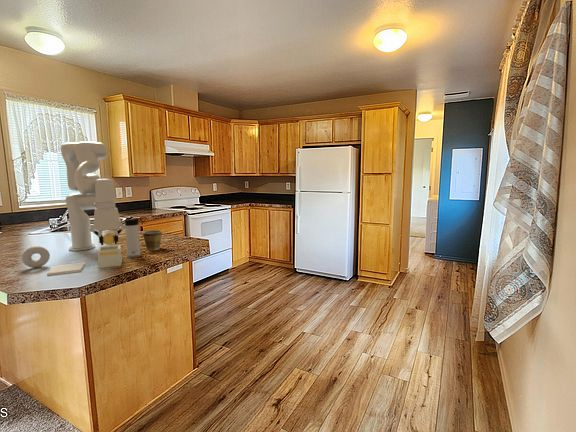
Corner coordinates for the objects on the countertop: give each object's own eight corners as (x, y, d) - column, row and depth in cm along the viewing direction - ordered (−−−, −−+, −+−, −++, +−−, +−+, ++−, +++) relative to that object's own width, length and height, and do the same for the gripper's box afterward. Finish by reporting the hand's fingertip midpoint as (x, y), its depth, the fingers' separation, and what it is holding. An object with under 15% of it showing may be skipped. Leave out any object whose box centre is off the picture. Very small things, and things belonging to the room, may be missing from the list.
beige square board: (53, 267, 141) (53, 265, 141) (84, 264, 146) (84, 262, 146) (47, 275, 131) (46, 273, 130) (80, 271, 136) (80, 269, 136)
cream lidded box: (100, 263, 149) (99, 246, 148) (121, 260, 153) (120, 244, 152) (98, 268, 141) (97, 251, 139) (121, 265, 144) (119, 249, 143)
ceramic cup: (166, 248, 178) (165, 231, 177) (151, 252, 170) (149, 234, 168) (152, 245, 185) (151, 229, 183) (137, 249, 176) (136, 231, 175)
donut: (23, 270, 137) (20, 248, 136) (22, 268, 140) (20, 247, 138) (51, 266, 144) (49, 245, 142) (50, 264, 146) (48, 243, 145)
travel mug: (135, 258, 157) (133, 219, 154) (124, 257, 158) (121, 219, 156) (143, 255, 163) (141, 217, 160) (132, 254, 165) (130, 217, 162)
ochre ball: (103, 243, 146) (102, 233, 146) (115, 242, 149) (114, 232, 148) (102, 245, 142) (101, 235, 141) (114, 244, 144) (114, 234, 143)
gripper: (83, 207, 136) (86, 247, 138) (126, 205, 143) (129, 243, 146) (85, 205, 143) (89, 244, 145) (126, 204, 150) (129, 240, 152)
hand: (109, 243), depth 145 cm, fingers closed on ochre ball, 4 cm apart
